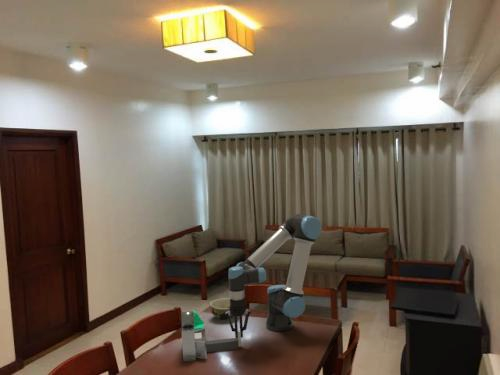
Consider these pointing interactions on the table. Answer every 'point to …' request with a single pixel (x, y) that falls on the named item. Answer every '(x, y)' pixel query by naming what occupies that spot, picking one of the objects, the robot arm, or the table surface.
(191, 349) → the housing
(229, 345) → the grey beam
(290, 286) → the robot arm
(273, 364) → the table surface
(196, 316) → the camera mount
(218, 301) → the bowl
